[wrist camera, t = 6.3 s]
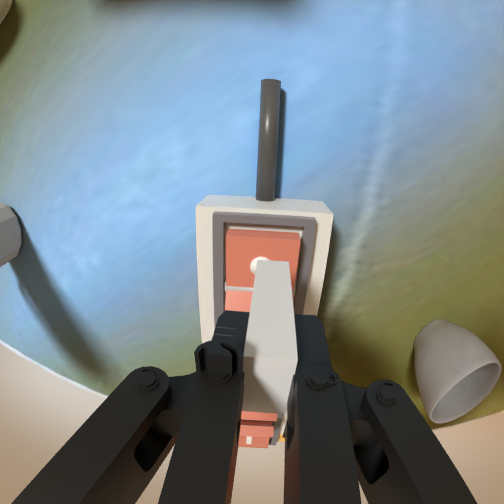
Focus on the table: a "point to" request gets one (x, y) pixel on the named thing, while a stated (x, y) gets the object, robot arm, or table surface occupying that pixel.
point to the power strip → (267, 219)
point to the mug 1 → (4, 8)
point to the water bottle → (9, 235)
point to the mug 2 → (452, 370)
